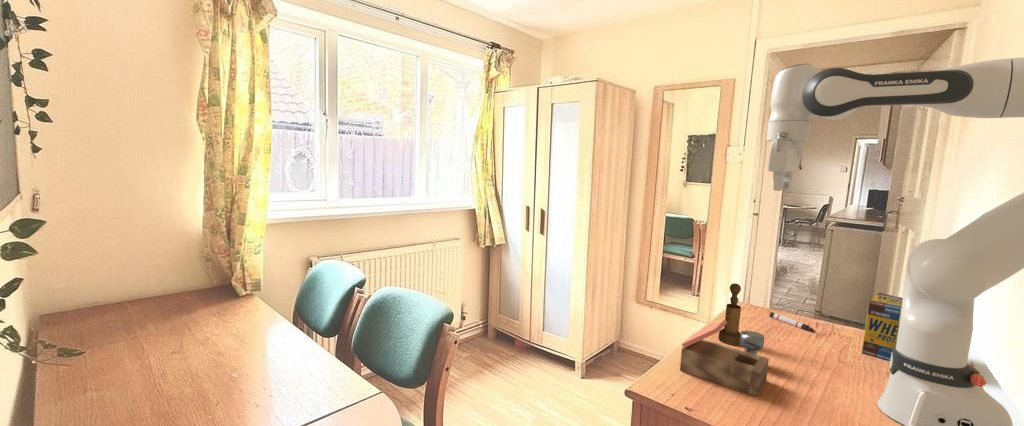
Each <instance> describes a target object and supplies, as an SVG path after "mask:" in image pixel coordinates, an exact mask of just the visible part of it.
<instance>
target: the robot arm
mask: <svg viewBox="0 0 1024 426" xmlns="http://www.w3.org/2000/svg"><path fill="white" fill-rule="evenodd" d="M770 95H771V96H770V101H769V102H770V103H769V107H770V116H769V118H768V122H767V128H766V129H767V130H766V131H767V132H766V141H767V142H771V143H770V148H769V155H768V161H767V162H768V163H767V170H768V172H770V173H772V172H773V173H772V178H773V188H772V189H773V191H775V192H781V191H783V190H789V189H790V186H791V181H792V178H793V173H794V172H797V171H798V170H799V167H800V163H801V160H802V157H803V156H802V155H803V151H804V144H805V143H807V142H809V138H810V131H811V122H812V118H814V117H816V118H821V119H822V118H823V119H826V120H834V121H836V120H841V119H845V118H847V117H850V116H851V115H853V114H854V113H856V111H858V109H859V108H863V107H882V106H884V107H885V106H891V107H892V106H921V107H927V108H930V109H935V110H937V111H939V112H942V113H944V114H947V115H949V116H954V117H963V118H976V119H1004V118H1024V57H1011V58H1002V59H1001V58H1000V59H999V58H997V59H991V60H985V61H978V62H977V61H976V62H972V63H965V64H961V65H956V66H952V67H945V68H941V69H933V70H929V71H927V70H926V71H910V72H894V73H876V74H874V73H873V74H872V73H871V74H869V73H861V72H857V71H853V70H851V69H847V68H842V67H832V68H826V69H821V68H818V67H816V66H815V65H813V64H811V63H799V64H795V65H791V66H789V67H785V68H783V69H781V70H780V71H779V72H778V73H777V74H776V76H775V77H774V79H773V84H772V89H771V94H770ZM906 262H907V263H906V269H905V276H904V284H903V291H902V292H903V293H902V298H903V300H902V308H901V316H900V323H899V329H898V336H897V342H896V346H894V347H893V351H892V353H891V359H890V361H889V372H890V374H889V377H888V379H887V382H886V385H885V388H884V390H883V392H882V394H881V396H880V397H879V399H878V401H876V402H877V404H876V405H877V407H878V408H879V410H880V411H882V413H883V414H884V415H886V416H888V418H891V419H893V420H894V421H896V422H898V423H900V424H901V425H903V426H1014V425H1013V424H1014V423H1013V420H1012V417H1011V415H1010V414H1009V411H1008V410H1007V409H1006V408H1005V407H1004V406H1003V405H1002V404H1001V403H1000V402H999V401H998V400H997V399H995V398H994V397H993V396H992V395H990V394H989V393H988V392H986V391H985V390H984V389H983V388H982V387H985V386H986V384H987V382H986V379H985V376H983V375H981V373H980V371H979V370H977V369H976V367H975V365H973V364H969V363H968V359H969V353H970V348H971V343H972V338H973V337H972V336H973V331H974V310H975V309H974V307H975V299H976V298H977V297H979V296H981V294H983V293H984V292H986V291H987V290H989V289H992V288H993V287H995V286H996V285H999V284H1001V283H1002V282H1004V281H1006V280H1007V279H1009V278H1011V277H1013V276H1014V275H1015V274H1018V273H1019V272H1021V271H1022V270H1023V269H1024V192H1022V193H1020V194H1018V195H1016V196H1014V197H1012V198H1010V199H1009V200H1007V201H1005V202H1003V203H1001V204H999V205H998V206H996V207H994V208H992V209H990V210H988V211H987V212H985V213H983V214H982V215H980V216H979V217H978V218H976V219H974V220H973V221H972V222H970V223H969V224H966V225H965V226H964V227H963V228H960V230H958V231H956V232H955V233H953V234H951V235H949V236H947V237H946V238H934V239H928V240H925V241H922V242H921V243H919V244H917V245H916V246H914V247H913V248H912V249H911V251H910V253H908V256H907V260H906Z"/></svg>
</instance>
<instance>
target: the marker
mask: <svg viewBox="0 0 1024 426" xmlns="http://www.w3.org/2000/svg"><path fill="white" fill-rule="evenodd" d="M768 316H769V318H772V319H773V320H774V319H775V320H777V321H779V322H783V323H784V324H788V325H791V326H793V327H796V328H797V329H801V330H804V331H808V332H813V333H814V332H816V329H814V328H812V327H811V326H810V325H808V324H805V323H803V322H800V321H798V320H795V319H791V318H789V317H787V316H784V315H781V314H778V313H775V312H772V311H771V312H769V315H768Z"/></svg>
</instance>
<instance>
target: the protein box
mask: <svg viewBox="0 0 1024 426" xmlns="http://www.w3.org/2000/svg"><path fill="white" fill-rule="evenodd" d="M902 300H903V297H900V296H897V295H896V296H895V295H890V294H886V293H881V292H878V293H877V294H876V295H875V296H874V297H873V298H872V299H871V301H869V302H868V307H867V313H866V319H865V321H866V322H865V325H864V334H863V339H862V340H863V342H862V350H861V353H862V354H863V355H867V356H871V357H873V358H874V357H875V358H878V359H882V360H886V361H888V362H890V359H891V353H892V351H893V347H894V346H896V342H897V336H898V329H899V323H900V316H901V308H902Z"/></svg>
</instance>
